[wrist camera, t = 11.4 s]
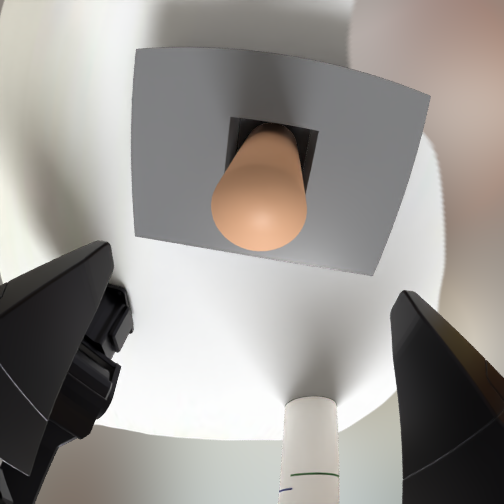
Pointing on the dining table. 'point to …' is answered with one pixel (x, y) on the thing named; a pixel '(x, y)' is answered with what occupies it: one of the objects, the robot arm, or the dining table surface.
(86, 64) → the dining table surface
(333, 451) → the cylindrical container
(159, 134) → the socket block
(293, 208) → the peg
